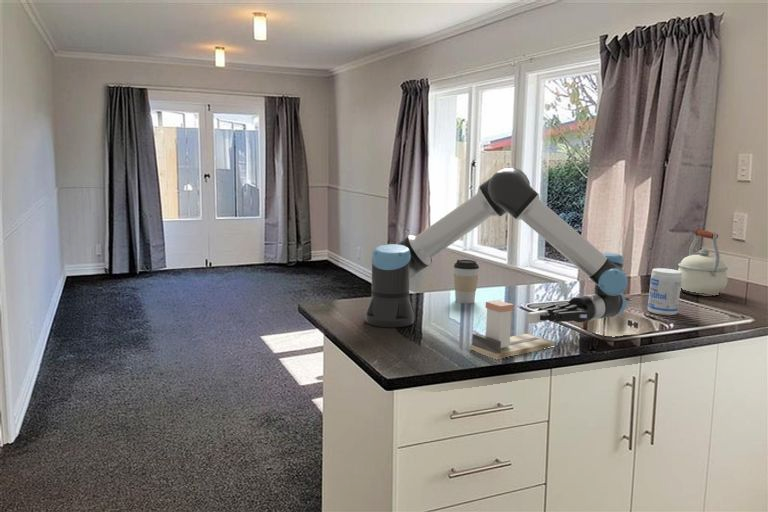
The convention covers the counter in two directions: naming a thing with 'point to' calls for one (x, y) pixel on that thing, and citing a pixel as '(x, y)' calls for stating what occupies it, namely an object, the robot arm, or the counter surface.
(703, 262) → the kettle
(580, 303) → the robot arm
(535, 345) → the board
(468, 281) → the coffee cup
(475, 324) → the counter surface
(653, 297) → the supplement tub
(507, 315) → the block
